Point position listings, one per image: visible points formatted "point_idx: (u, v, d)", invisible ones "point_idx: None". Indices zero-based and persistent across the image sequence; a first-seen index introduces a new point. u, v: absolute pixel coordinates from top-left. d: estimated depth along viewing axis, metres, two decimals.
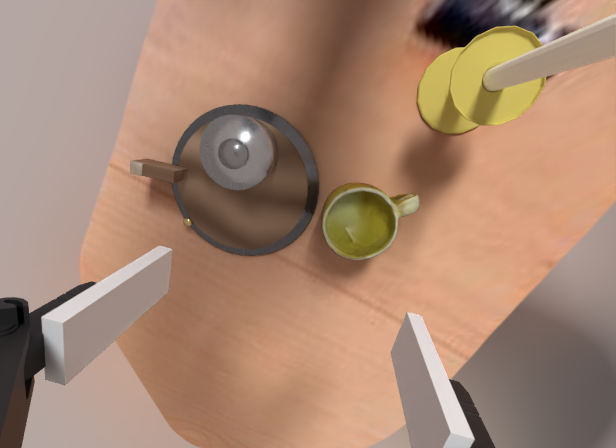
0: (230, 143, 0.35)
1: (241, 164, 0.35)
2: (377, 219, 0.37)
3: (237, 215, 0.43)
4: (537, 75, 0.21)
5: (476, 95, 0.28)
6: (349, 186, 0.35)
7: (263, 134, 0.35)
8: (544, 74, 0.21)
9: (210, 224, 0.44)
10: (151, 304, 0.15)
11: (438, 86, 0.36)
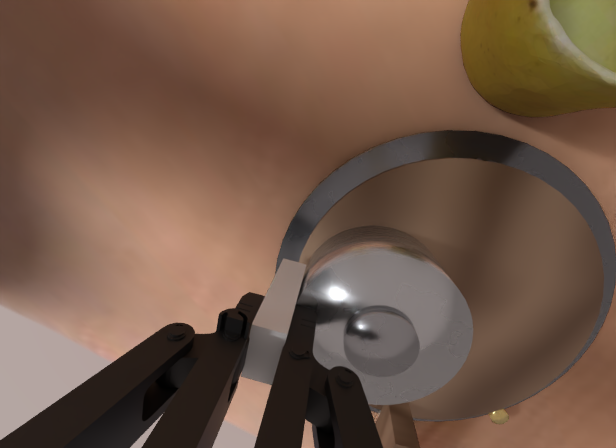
0: (355, 347, 0.14)
1: (409, 330, 0.14)
2: None
3: (503, 322, 0.19)
4: None
5: None
6: None
7: (338, 267, 0.14)
8: None
9: (514, 378, 0.20)
10: None
11: None
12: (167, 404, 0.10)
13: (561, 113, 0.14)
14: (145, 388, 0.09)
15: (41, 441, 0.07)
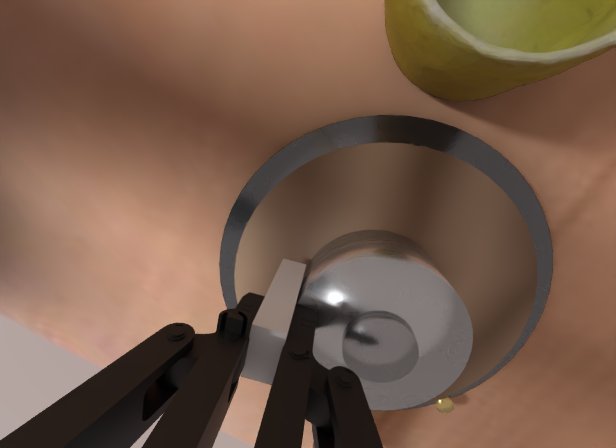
0: (353, 351, 0.14)
1: (409, 337, 0.14)
2: None
3: None
4: None
5: None
6: None
7: (339, 270, 0.14)
8: None
9: None
10: None
11: None
12: (167, 404, 0.10)
13: (480, 95, 0.14)
14: (144, 388, 0.09)
15: (41, 442, 0.07)
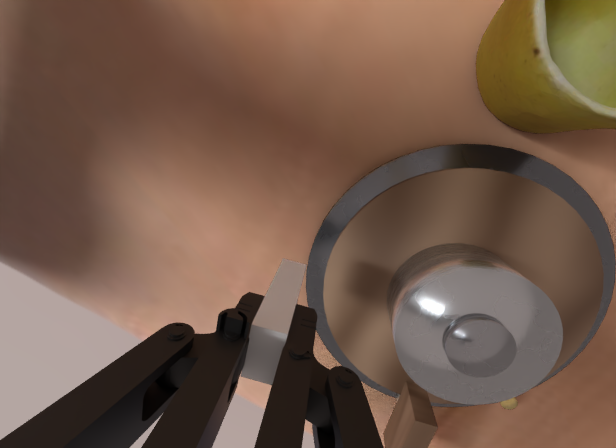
0: (456, 349, 0.16)
1: (508, 336, 0.16)
2: None
3: None
4: None
5: None
6: (518, 45, 0.12)
7: (443, 278, 0.16)
8: None
9: None
10: None
11: None
12: (167, 404, 0.10)
13: (563, 131, 0.17)
14: (144, 388, 0.09)
15: (41, 441, 0.07)
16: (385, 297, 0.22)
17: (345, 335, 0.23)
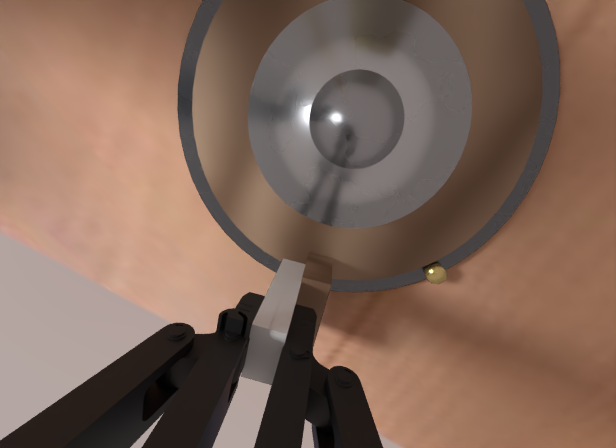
0: (326, 135, 0.11)
1: (380, 82, 0.11)
2: None
3: None
4: None
5: None
6: None
7: (274, 47, 0.12)
8: None
9: (448, 218, 0.17)
10: None
11: None
12: (167, 404, 0.10)
13: None
14: (145, 388, 0.09)
15: (41, 441, 0.07)
16: None
17: (229, 192, 0.18)
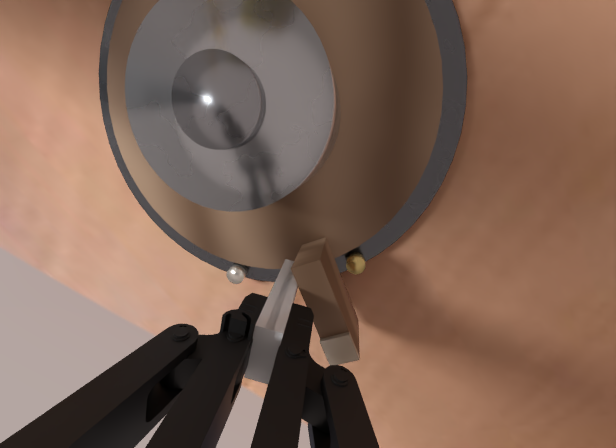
0: (203, 131, 0.12)
1: (206, 55, 0.11)
2: None
3: None
4: None
5: None
6: None
7: (129, 100, 0.13)
8: None
9: (401, 130, 0.16)
10: None
11: None
12: (170, 405, 0.10)
13: None
14: (148, 389, 0.09)
15: (45, 442, 0.07)
16: None
17: (206, 236, 0.19)
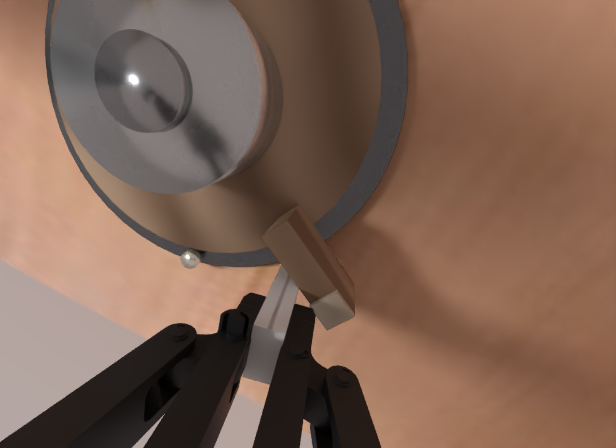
0: (137, 117, 0.12)
1: (114, 40, 0.11)
2: None
3: None
4: None
5: None
6: None
7: (67, 114, 0.13)
8: None
9: (344, 74, 0.15)
10: None
11: None
12: (169, 405, 0.10)
13: None
14: (146, 389, 0.09)
15: (43, 441, 0.07)
16: None
17: (184, 232, 0.19)
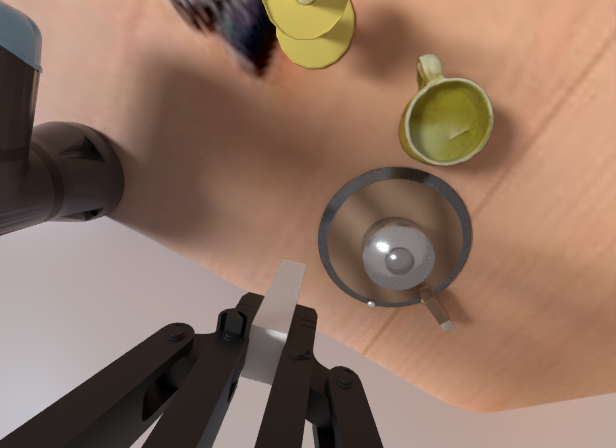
0: (399, 271, 0.38)
1: (393, 253, 0.37)
2: (443, 102, 0.33)
3: None
4: None
5: (320, 8, 0.28)
6: (402, 136, 0.33)
7: (368, 272, 0.39)
8: None
9: (449, 240, 0.41)
10: None
11: (308, 47, 0.37)
12: (167, 404, 0.10)
13: None
14: (144, 388, 0.09)
15: (40, 441, 0.07)
16: None
17: (375, 294, 0.45)
